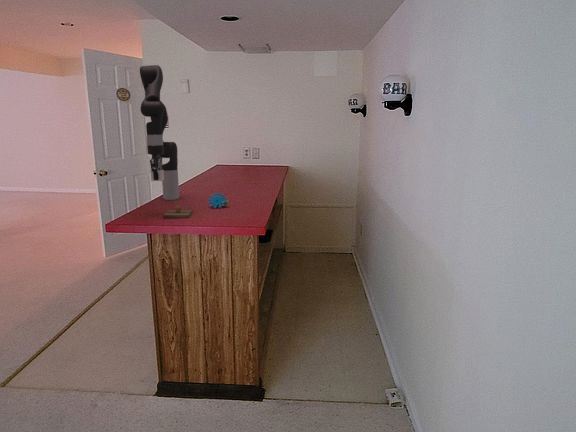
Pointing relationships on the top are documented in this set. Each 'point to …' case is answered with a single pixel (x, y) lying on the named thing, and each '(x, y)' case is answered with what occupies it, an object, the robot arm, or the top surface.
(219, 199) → the blue piece
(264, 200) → the top surface
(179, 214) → the board
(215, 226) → the top surface
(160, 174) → the pale grey cube block
